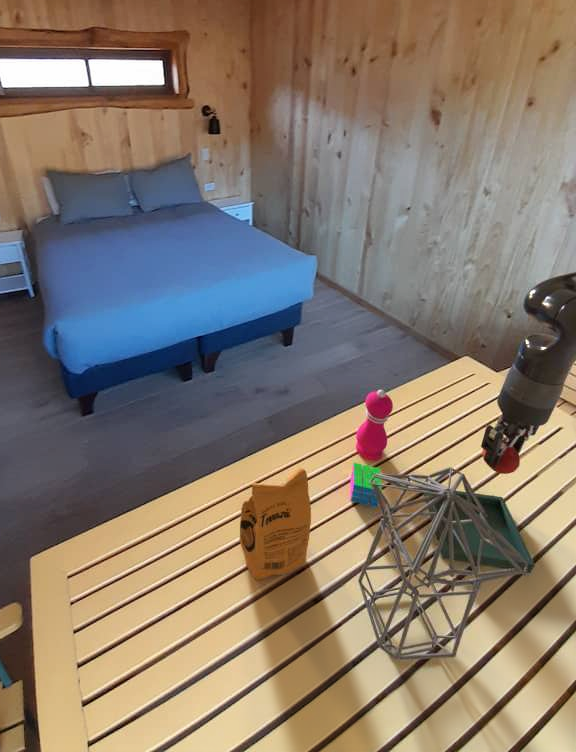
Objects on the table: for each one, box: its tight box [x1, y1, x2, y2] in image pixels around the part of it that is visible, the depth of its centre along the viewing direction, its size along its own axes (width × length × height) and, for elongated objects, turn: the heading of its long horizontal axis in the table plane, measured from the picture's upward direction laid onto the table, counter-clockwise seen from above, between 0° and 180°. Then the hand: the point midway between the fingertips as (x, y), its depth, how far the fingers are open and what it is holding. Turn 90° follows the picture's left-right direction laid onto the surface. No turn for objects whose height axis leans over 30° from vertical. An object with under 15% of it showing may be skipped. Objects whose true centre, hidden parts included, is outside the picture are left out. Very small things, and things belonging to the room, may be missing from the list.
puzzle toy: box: [350, 462, 383, 509], centre depth 90 cm, size 6×6×6 cm
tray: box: [422, 489, 536, 574], centre depth 83 cm, size 16×14×3 cm
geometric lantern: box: [357, 466, 528, 662], centre depth 62 cm, size 16×16×35 cm
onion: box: [482, 444, 521, 475], centre depth 77 cm, size 6×6×8 cm
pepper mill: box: [355, 389, 394, 462], centre depth 97 cm, size 7×7×20 cm
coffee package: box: [239, 467, 312, 581], centre depth 76 cm, size 10×12×22 cm
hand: (500, 457), depth 77 cm, fingers closed on onion, 6 cm apart
